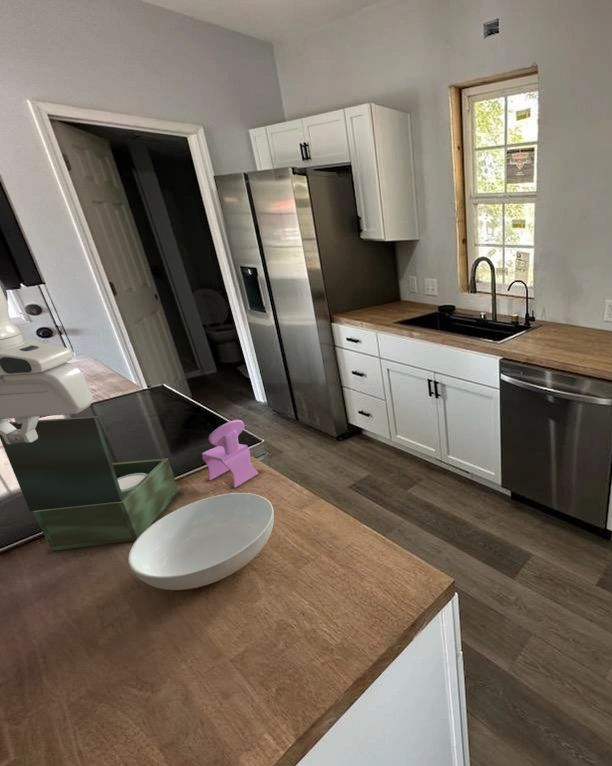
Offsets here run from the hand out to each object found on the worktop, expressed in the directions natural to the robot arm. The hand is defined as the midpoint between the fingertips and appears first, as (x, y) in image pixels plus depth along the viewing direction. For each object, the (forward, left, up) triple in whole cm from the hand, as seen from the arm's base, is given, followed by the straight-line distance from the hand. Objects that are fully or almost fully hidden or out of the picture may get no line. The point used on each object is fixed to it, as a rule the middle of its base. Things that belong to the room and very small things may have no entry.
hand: (23, 441), depth 64 cm
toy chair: (+16, +24, -25) cm, 38 cm away
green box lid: (0, +5, -7) cm, 9 cm away
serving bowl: (+23, -4, -25) cm, 34 cm away
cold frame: (0, +12, -25) cm, 27 cm away
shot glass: (+2, +13, -24) cm, 27 cm away
